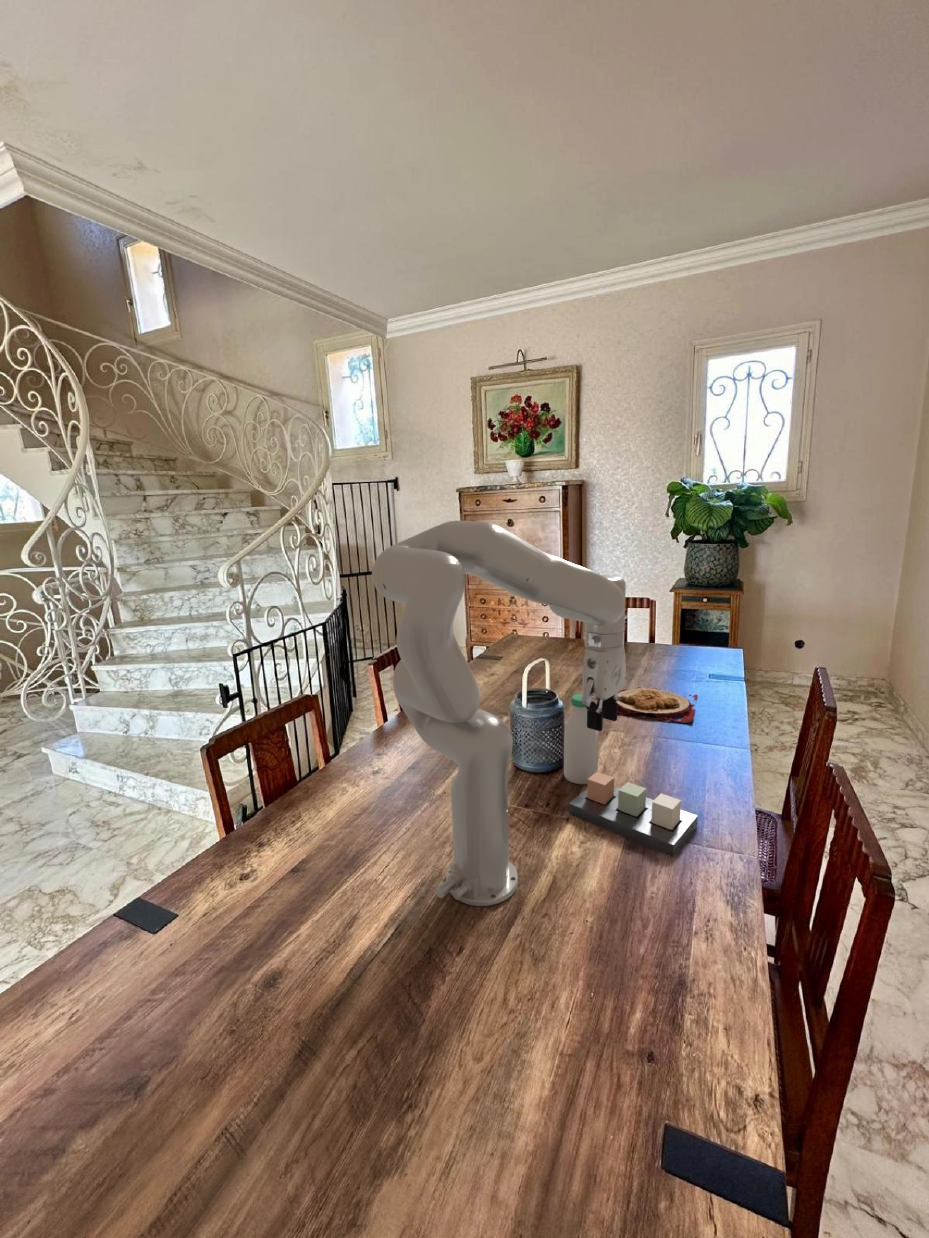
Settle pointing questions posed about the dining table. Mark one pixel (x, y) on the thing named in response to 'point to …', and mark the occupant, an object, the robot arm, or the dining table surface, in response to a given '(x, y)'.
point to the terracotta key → (600, 787)
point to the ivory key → (666, 811)
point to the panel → (634, 823)
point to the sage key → (632, 799)
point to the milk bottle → (579, 745)
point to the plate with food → (655, 704)
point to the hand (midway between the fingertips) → (602, 723)
